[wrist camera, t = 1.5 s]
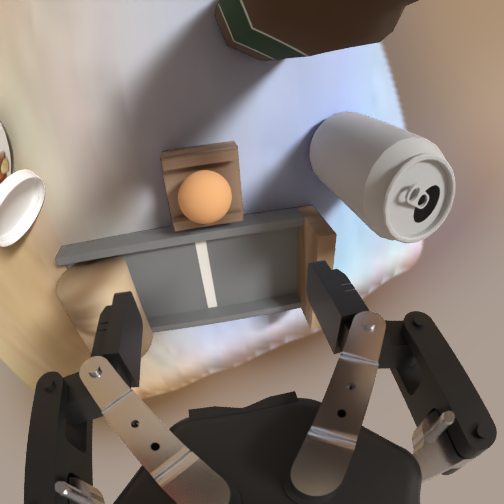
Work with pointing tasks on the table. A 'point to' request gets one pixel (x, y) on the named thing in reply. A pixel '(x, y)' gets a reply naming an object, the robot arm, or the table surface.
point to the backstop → (312, 254)
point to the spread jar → (16, 195)
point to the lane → (207, 268)
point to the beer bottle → (305, 25)
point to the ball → (204, 197)
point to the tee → (196, 159)
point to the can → (384, 175)
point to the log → (97, 295)
